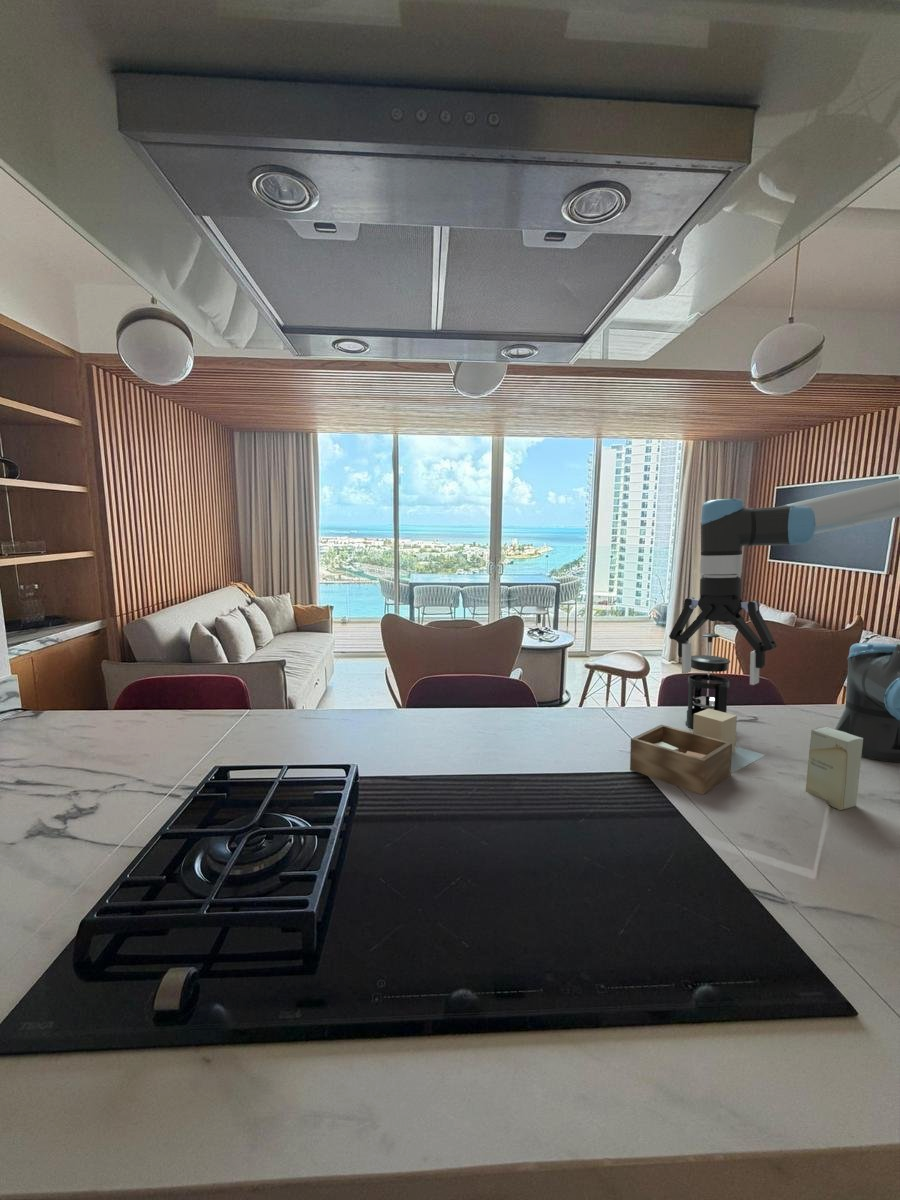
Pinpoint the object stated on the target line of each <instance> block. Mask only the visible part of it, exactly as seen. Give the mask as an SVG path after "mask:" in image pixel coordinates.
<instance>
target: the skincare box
mask: <svg viewBox="0 0 900 1200" xmlns="http://www.w3.org/2000/svg"><path fill="white" fill-rule="evenodd" d="M809 741H810V743H809V752H808V762H807V772H806V782H805V792H807V793H809V794H812V795H814V796H816V797H818V798H820V799H823V800H825V801H826V805H827V804H828V806H830V807H832V808H834V809H836V808H837V810H839V811H842V810H846V809H850V808H853V807H856V806H857V800H858V792H859V791H858V790H859V782H860V781H859V779H860V771H861V762H862V756H861V755H862V746H863V738H861V737H858V736H855V735H852V734H849V733H846V732H843V731H839V730H836V729H835V728H832V727H830V726H827V725H826V726H822V727H817V728H811V731H810V740H809Z"/></svg>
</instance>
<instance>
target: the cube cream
mask: <svg viewBox="0 0 900 1200" xmlns="http://www.w3.org/2000/svg"><path fill="white" fill-rule="evenodd" d="M655 745H659V746H662V747H665V748H669V749H672V750H676V751H678V749H679V748H676V747H674V746H671V745H669V744H667V743H664V742H659V743H655Z"/></svg>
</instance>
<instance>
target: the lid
mask: <svg viewBox="0 0 900 1200" xmlns="http://www.w3.org/2000/svg"><path fill="white" fill-rule="evenodd" d="M737 719H738V716H737V715H735V714H731V713H729V712H726V713H725V712H721V711H717V710H713V709H710V708H708V709H706V710H703V711H700V712H698V713H695V714H694V722H693V729H692V733H695V734H699V735H703V736H707V737H711V738H714V739H718V740H722V741H726V742H729V743H732V758H731V772H735V773H736V772H738V771H739V770H741V769H743V768H745V767H747V766H748V765H750V764H752V763H754V762H756V761H758V760H760V759H761V758H764V757H765V756H766V754H764V753H759V752H757V751H754V750H750V749H746V748H743V747H740V746H736V743H737V742H736V740H737V739H736V738H737V724H738V723H737Z"/></svg>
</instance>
